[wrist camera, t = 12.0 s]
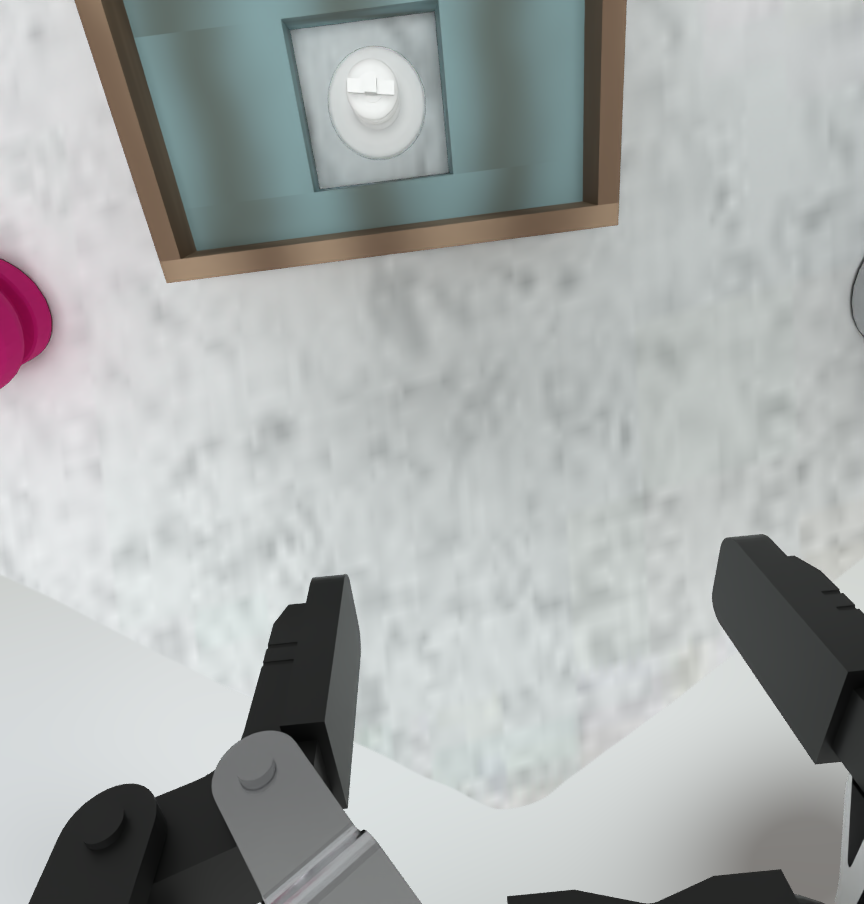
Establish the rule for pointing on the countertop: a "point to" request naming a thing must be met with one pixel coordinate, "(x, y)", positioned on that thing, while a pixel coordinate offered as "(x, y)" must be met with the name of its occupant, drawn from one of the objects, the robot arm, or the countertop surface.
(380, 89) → the chess piece
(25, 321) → the pepper mill
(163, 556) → the countertop surface
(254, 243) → the box
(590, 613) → the countertop surface
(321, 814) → the robot arm
